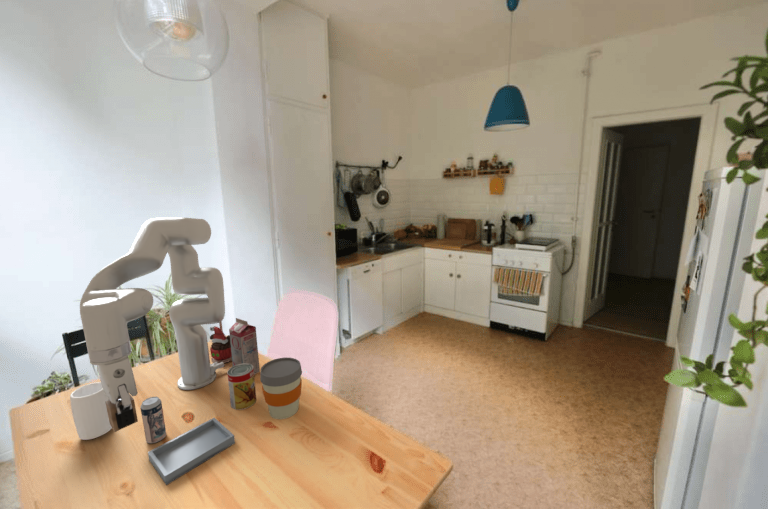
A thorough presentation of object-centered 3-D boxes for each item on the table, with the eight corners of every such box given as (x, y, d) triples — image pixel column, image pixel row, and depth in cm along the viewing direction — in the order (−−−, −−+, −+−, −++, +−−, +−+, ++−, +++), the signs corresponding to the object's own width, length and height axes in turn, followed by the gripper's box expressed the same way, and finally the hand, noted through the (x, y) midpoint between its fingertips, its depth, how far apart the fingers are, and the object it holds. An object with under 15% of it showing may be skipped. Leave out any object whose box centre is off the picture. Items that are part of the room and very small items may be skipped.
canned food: (260, 401, 110) (257, 368, 108) (237, 413, 105) (233, 378, 102) (249, 392, 116) (246, 360, 113) (226, 402, 110) (223, 369, 108)
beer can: (156, 446, 92) (150, 407, 89) (142, 443, 92) (135, 405, 90) (170, 433, 96) (164, 396, 94) (156, 431, 97) (150, 394, 95)
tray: (215, 424, 100) (214, 417, 99) (235, 443, 92) (234, 435, 92) (149, 460, 87) (147, 452, 86) (166, 485, 79) (164, 476, 79)
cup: (123, 427, 99) (115, 384, 96) (90, 447, 91) (81, 401, 89) (103, 421, 102) (95, 379, 99) (71, 440, 94) (61, 395, 91)
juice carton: (244, 379, 123) (239, 324, 119) (233, 374, 127) (228, 320, 122) (259, 371, 129) (255, 318, 124) (248, 367, 132) (243, 315, 128)
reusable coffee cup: (265, 428, 98) (261, 382, 95) (261, 403, 109) (258, 362, 106) (307, 416, 103) (305, 372, 100) (300, 394, 114) (297, 353, 111)
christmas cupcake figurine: (242, 355, 142) (238, 315, 139) (228, 366, 133) (223, 324, 130) (221, 352, 144) (216, 313, 141) (205, 363, 135) (200, 322, 132)
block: (132, 413, 83) (128, 392, 82) (137, 421, 80) (133, 399, 79) (109, 423, 80) (105, 401, 79) (114, 432, 77) (110, 409, 76)
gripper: (141, 355, 74) (153, 427, 78) (120, 335, 84) (131, 399, 88) (98, 370, 68) (113, 446, 72) (81, 346, 79) (95, 414, 82)
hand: (123, 419), depth 80 cm, fingers closed on block, 4 cm apart
